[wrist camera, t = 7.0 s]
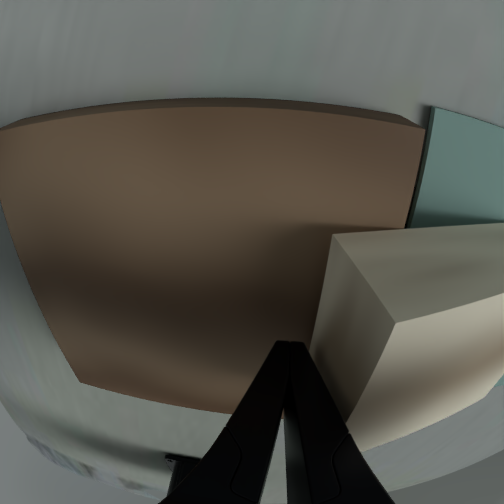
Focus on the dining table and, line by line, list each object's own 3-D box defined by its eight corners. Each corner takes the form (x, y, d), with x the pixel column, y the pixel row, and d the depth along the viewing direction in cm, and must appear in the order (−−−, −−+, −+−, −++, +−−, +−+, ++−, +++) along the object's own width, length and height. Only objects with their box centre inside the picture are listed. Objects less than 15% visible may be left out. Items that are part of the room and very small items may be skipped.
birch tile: (453, 351, 13) (483, 397, 10) (298, 395, 11) (321, 463, 9) (516, 221, 9) (569, 268, 6) (332, 234, 8) (395, 323, 5)
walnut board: (329, 387, 15) (330, 420, 14) (93, 355, 16) (80, 382, 14) (399, 115, 8) (425, 129, 6) (22, 119, 9) (-15, 134, 7)
